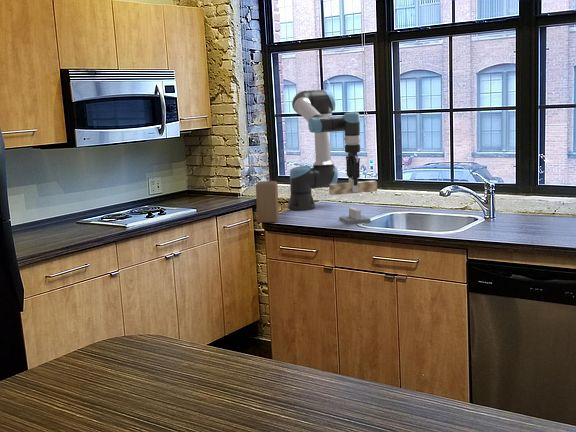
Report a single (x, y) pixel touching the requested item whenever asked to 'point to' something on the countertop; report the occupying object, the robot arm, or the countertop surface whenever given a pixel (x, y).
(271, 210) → the wooden block
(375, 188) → the beech bar
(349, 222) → the fulcrum
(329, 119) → the robot arm
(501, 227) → the countertop surface
